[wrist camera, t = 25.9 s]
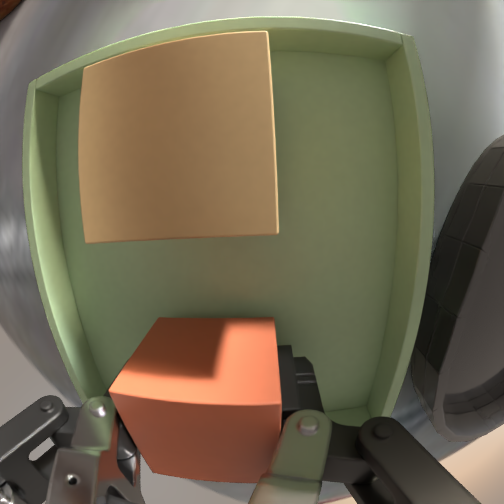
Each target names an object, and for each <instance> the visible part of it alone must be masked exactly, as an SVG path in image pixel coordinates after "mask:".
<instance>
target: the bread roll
mask: <svg viewBox="0 0 504 504" xmlns="http://www.w3.org/2000/svg"><path fill="white" fill-rule="evenodd" d="M20 1H21V0H0V21H1V20H2V19H3V18H4V17H5V16H6V15H8V14H9V13H10V12H11V11H12V10H13V9H14V8H15V7H16V6H17V5H18V4H19V3H20Z"/></svg>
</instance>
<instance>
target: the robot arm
mask: <svg viewBox="0 0 504 504" xmlns="http://www.w3.org/2000/svg"><path fill="white" fill-rule="evenodd" d="M277 351H278V363H279V375H280V387H281V399H282V413H281V435H280V438H279V441H278V444H277V446H276V449H275V452H274V454H273V457H272V459H271V462H270V465H269V467H268V469H267V471H266V473H263V474H262V475H261V477H260V479H259V481H258V483H257V485H256V487H255V490H254V492H253V494H252V496H251V498H250V501H249V503H248V504H317V503H318V499H319V495H320V491H321V487H322V481H330V482H339V483H344V485H345V486H346V488H347V489H348V491H349V492H350V494H351V495H352V497H353V498H354V499H355V501H356V502H357V504H481V503H480V502H479V501H478V500H477V499H476V498H475V497H474V496H473V495H472V494H471V493H470V492H469V491H468V490H467V489H465V487H463V485H462V484H460V483H459V482H458V481H457V480H456V479H455V478H454V477H453V476H452V475H451V474H450V473H449V472H448V471H447V470H446V469H445V468H444V467H443V466H442V465H441V464H440V463H439V462H438V461H437V460H436V459H435V458H434V457H433V456H432V455H431V454H430V453H429V452H428V451H427V450H426V449H425V448H424V447H423V446H422V445H421V444H420V443H419V442H418V441H417V440H416V439H415V438H414V437H413V436H412V435H411V434H410V433H409V432H408V431H407V430H406V429H405V428H404V427H403V426H402V425H401V424H400V423H399V422H398V421H396V420H395V419H393V418H390V417H385V416H379V417H373V418H371V419H369V420H367V421H365V422H364V423H363V424H362V426H361V427H359V426H348V425H341V424H338V423H336V422H334V421H332V420H331V419H330V418H329V417H328V416H327V415H326V414H325V412H324V409H323V405H322V401H321V397H320V392H319V388H318V384H317V380H316V376H315V372H314V368H313V364H312V363H311V362H310V361H309V360H308V359H307V358H306V357H305V356H304V357H293V352H292V346H291V345H277ZM129 359H130V358H129ZM129 359H128V360H129ZM128 360H127V361H126V363H127V362H128ZM126 363H125V364H126ZM125 364H124V366H125ZM124 366H123V367H124ZM123 367H122V369H123ZM122 369H121V370H122ZM121 370H120V372H121ZM120 372H119V373H120ZM119 373H118V375H119ZM118 375H117V376H118ZM117 376H116V377H115V379H116V378H117ZM115 379H114V380H113V382H114V381H115ZM113 382H112V383H111V385H112V384H113ZM111 385H110V386H109V388H110V387H111ZM109 388H108V389H107V391H106V392H105V394H104V395H103V396H95V397H92V398H90V399H88V400H87V401H85V402H84V403H83V405H82V406H81V407H65V406H64V404H63V402H62V400H61V399H60V398H59V397H57V396H52V395H49V396H44V397H42V398H40V399H38V400H37V401H36V402H34V403H33V404H32V405H30V406H29V407H27V408H26V409H25V410H23V411H22V412H21V413H19V414H18V415H16V416H15V417H14V418H12V419H11V420H9V421H8V422H7V423H6V424H4V425H3V426H1V427H0V504H42V503H43V502H44V501H45V500H46V503H45V504H145V501H144V499H143V497H142V494H141V489H140V451H139V450H138V448H137V446H136V445H135V443H134V441H133V439H132V437H131V436H130V434H129V432H128V430H127V428H126V426H125V424H124V422H123V421H122V419H121V417H120V415H119V413H118V410H117V408H116V406H115V404H114V402H113V400H112V398H111V396H110V393H109ZM48 437H50V439H51V440H52V441H53V443H54V444H55V445H54V446H52V447H51V448H50V449H49V450H48V451H47V452H45V453H44V454H43V455H42V456H41V457H39V458H38V459H37V460H35V461H31V460H29V454H30V452H31V451H33V450H34V449H35V448H36V447H37V446H39V445H40V444H41V443H42V442H43V441H45V440H46V439H47V438H48Z"/></svg>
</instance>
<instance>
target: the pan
mask: <svg viewBox="0 0 504 504" xmlns="http://www.w3.org/2000/svg"><path fill="white" fill-rule="evenodd" d="M411 371H412V380H413V385H414V389H415V392H416V394H417V396H418V398H419V400H420V403H421V406H422V408H423V409H424V411H425V413H426V415H427V416H428V418H429V420H430V421H431V423H432V425H433V427H434V428H435V430H436V432H437V433H438V434H440V435H441V436H442V437H444V438H445V439H446V440H448V441H449V442H467V441H470V440H473V439H476V438H478V437H481V436H484V435H486V434H488V433H489V432H491V431H493V430H494V429H496V428H498V427H499V426H501V425H503V424H504V135H502V136H501V137H499V138H497V139H496V140H495V141H494V142H492V143H491V144H490V145H489V146H488V147H487V148H486V149H485V150H484V151H483V153H482V154H481V155H480V157H479V158H478V159H477V161H476V162H475V163H474V165H473V166H472V168H471V170H470V172H469V173H468V175H467V177H466V178H465V180H464V182H463V184H462V185H461V188H460V190H459V192H458V194H457V196H456V198H455V200H454V202H453V204H452V206H451V209H450V211H449V214H448V216H447V219H446V221H445V224H444V226H443V229H442V231H441V233H440V236H439V240H438V243H437V245H436V248H435V251H434V254H433V257H432V260H431V262H430V267H429V274H428V281H427V287H426V293H425V299H424V304H423V309H422V314H421V319H420V323H419V328H418V332H417V336H416V340H415V344H414V348H413V351H412V355H411Z"/></svg>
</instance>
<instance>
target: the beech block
mask: <svg viewBox="0 0 504 504" xmlns="http://www.w3.org/2000/svg"><path fill="white" fill-rule="evenodd" d="M78 173H79V192H80V204H81V215H82V224H83V232H84V239H85V243H86V244H97V243H114V242H131V241H150V240H170V239H191V238H215V237H240V236H269V235H278V233H279V216H278V185H277V161H276V140H275V121H274V104H273V88H272V74H271V60H270V47H269V35H268V32H267V31H248V32H233V33H222V34H214V35H206V36H199V37H192V38H187V39H181V40H176V41H171V42H166V43H162V44H157V45H153V46H149V47H145V48H142V49H138V50H134V51H131V52H128V53H124V54H121V55H118V56H115V57H112V58H109V59H106V60H103V61H101V62H98V63H95V64H93V65H90V66H87V67H85V68H84V69H83V77H82V85H81V95H80V107H79V125H78Z"/></svg>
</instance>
